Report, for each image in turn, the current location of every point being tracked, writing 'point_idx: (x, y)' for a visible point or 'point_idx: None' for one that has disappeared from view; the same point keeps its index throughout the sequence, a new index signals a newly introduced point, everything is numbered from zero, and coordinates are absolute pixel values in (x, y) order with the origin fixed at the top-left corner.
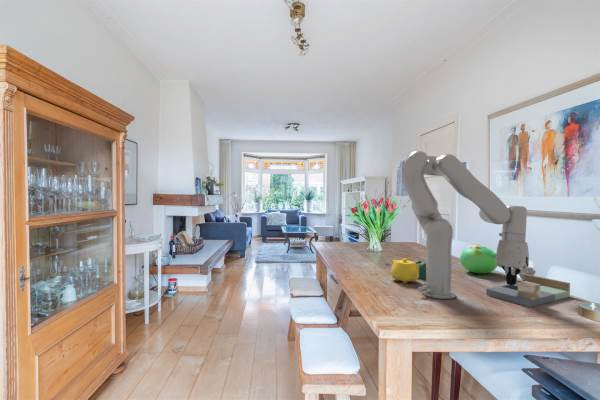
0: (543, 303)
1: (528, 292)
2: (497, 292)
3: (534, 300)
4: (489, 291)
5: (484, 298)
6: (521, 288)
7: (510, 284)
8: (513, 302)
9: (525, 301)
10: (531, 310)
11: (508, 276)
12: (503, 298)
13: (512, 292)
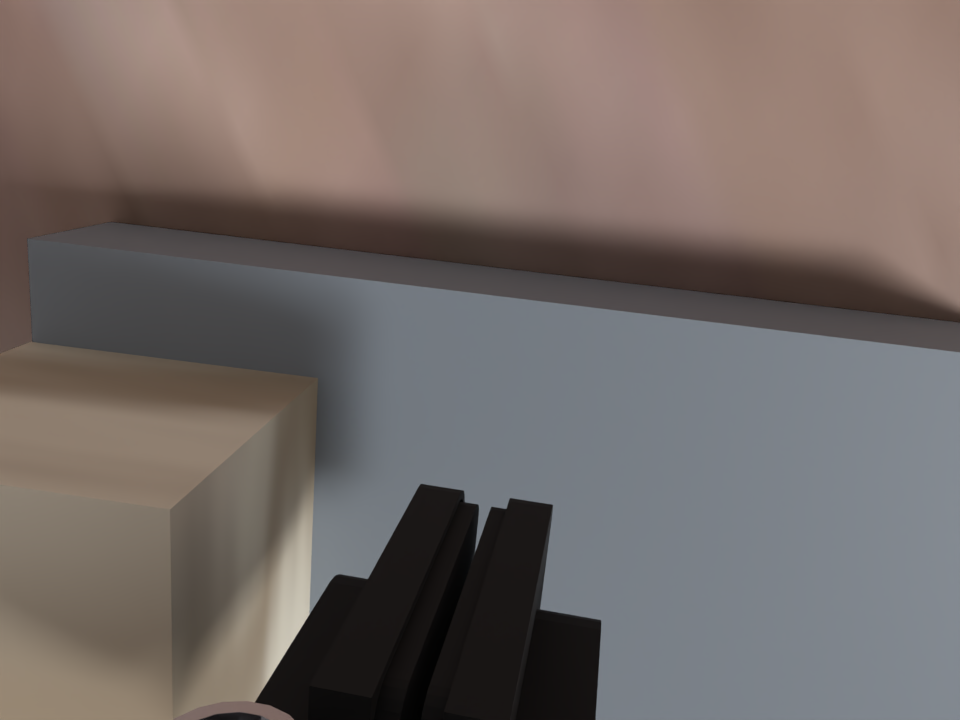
0: None
1: (14, 389)
2: (746, 324)
3: None
4: (953, 339)
5: (911, 8)
6: (146, 438)
7: (432, 488)
8: (394, 256)
9: (135, 243)
10: (9, 64)
11: (462, 654)
12: (595, 284)
13: None
